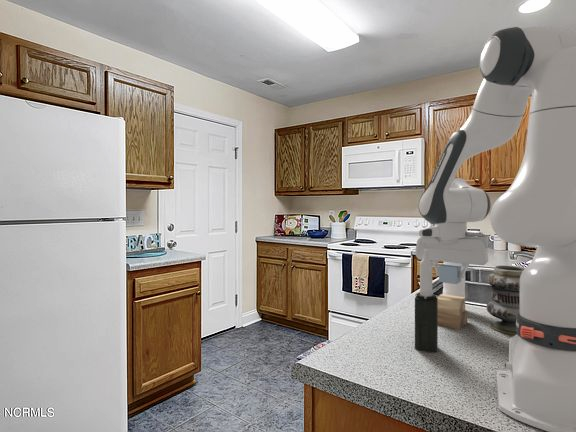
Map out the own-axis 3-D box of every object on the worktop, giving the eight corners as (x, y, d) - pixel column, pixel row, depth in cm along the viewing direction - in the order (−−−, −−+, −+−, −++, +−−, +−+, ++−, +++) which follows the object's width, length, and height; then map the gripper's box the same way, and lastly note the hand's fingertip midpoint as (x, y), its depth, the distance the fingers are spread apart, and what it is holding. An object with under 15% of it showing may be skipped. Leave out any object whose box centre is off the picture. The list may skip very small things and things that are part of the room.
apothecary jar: (503, 337, 94) (503, 271, 94) (477, 322, 106) (478, 264, 106) (546, 336, 95) (547, 270, 94) (516, 322, 107) (516, 263, 106)
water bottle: (438, 308, 122) (438, 237, 121) (452, 306, 125) (452, 236, 124) (455, 314, 115) (455, 239, 115) (470, 311, 118) (470, 238, 118)
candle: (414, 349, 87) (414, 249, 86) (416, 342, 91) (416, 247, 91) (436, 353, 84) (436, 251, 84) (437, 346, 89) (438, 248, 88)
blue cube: (456, 284, 103) (456, 267, 103) (438, 281, 106) (439, 265, 106) (461, 281, 107) (461, 265, 107) (444, 279, 110) (444, 263, 110)
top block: (459, 315, 102) (459, 302, 102) (434, 311, 106) (434, 298, 106) (465, 310, 107) (465, 297, 107) (441, 306, 111) (441, 294, 111)
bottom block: (459, 330, 101) (459, 316, 101) (431, 324, 107) (431, 311, 106) (467, 323, 107) (467, 310, 107) (440, 317, 112) (440, 305, 112)
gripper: (491, 232, 102) (490, 279, 102) (421, 229, 115) (420, 271, 115) (486, 233, 97) (486, 283, 97) (413, 230, 110) (413, 273, 111)
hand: (450, 276), depth 106 cm, fingers closed on blue cube, 5 cm apart
